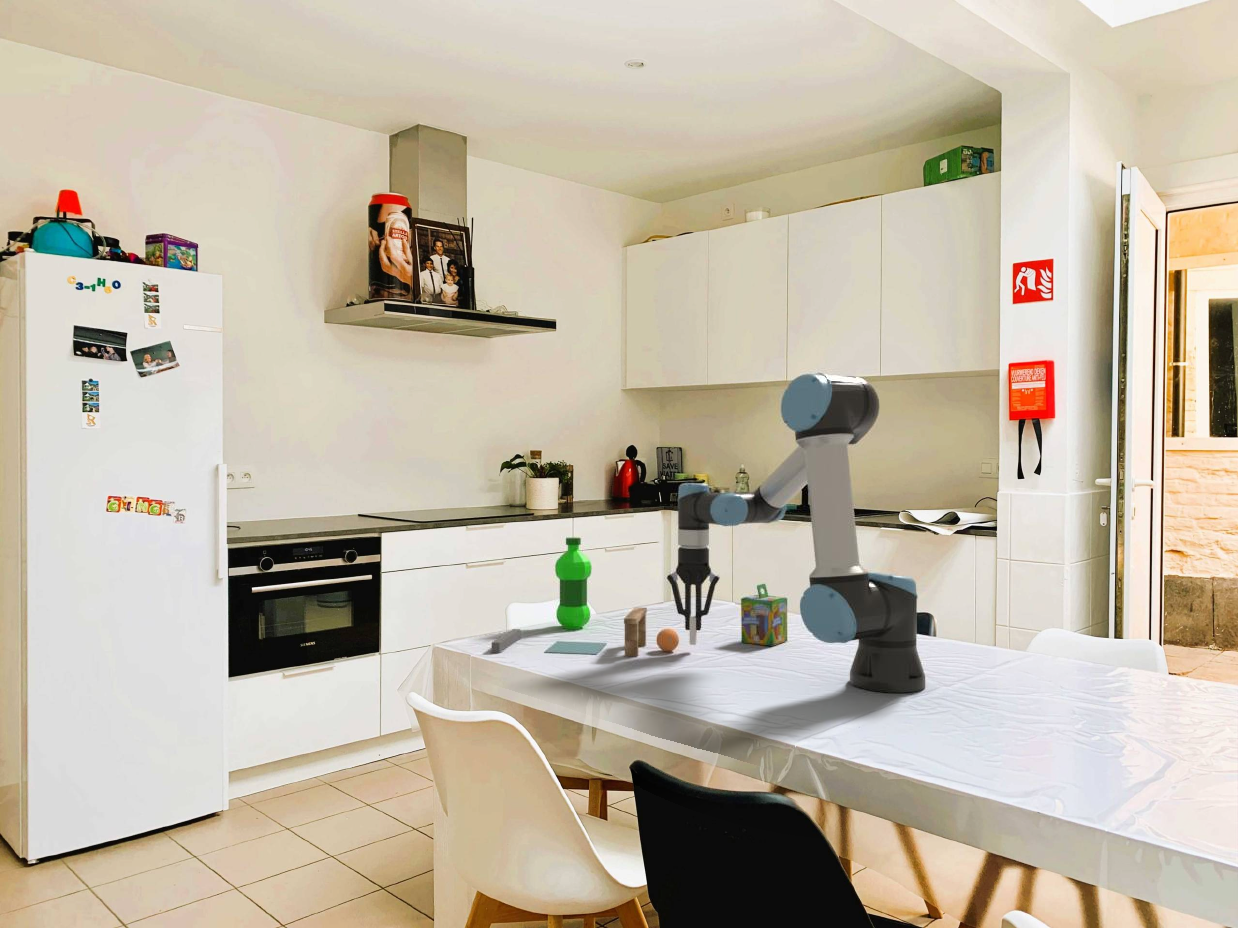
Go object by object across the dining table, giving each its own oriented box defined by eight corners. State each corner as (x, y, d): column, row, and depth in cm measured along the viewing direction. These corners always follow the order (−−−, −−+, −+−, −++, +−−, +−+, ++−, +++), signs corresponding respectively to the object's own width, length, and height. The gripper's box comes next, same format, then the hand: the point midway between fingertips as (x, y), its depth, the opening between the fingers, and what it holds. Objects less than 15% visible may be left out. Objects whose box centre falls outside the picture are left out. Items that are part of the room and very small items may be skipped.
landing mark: (596, 654, 218) (596, 653, 218) (544, 652, 220) (544, 651, 220) (606, 643, 230) (606, 642, 230) (557, 641, 233) (557, 641, 233)
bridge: (646, 643, 230) (646, 607, 230) (636, 657, 214) (636, 618, 214) (635, 643, 231) (635, 607, 231) (623, 657, 215) (623, 618, 215)
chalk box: (772, 647, 226) (772, 588, 226) (739, 642, 232) (739, 585, 232) (789, 641, 234) (789, 584, 234) (757, 637, 239) (757, 581, 239)
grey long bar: (499, 653, 219) (499, 642, 219) (491, 652, 220) (491, 642, 220) (520, 638, 237) (520, 629, 237) (513, 638, 237) (513, 628, 237)
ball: (654, 630, 219) (654, 652, 219) (677, 631, 218) (676, 654, 218) (659, 625, 225) (658, 647, 225) (681, 627, 223) (680, 649, 223)
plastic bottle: (598, 626, 255) (598, 537, 255) (577, 632, 246) (577, 540, 246) (569, 622, 260) (569, 535, 260) (547, 628, 251) (547, 538, 251)
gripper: (721, 545, 223) (721, 641, 223) (668, 544, 225) (668, 639, 225) (719, 548, 215) (718, 647, 215) (664, 547, 218) (664, 645, 218)
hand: (693, 643), depth 220 cm, fingers closed
